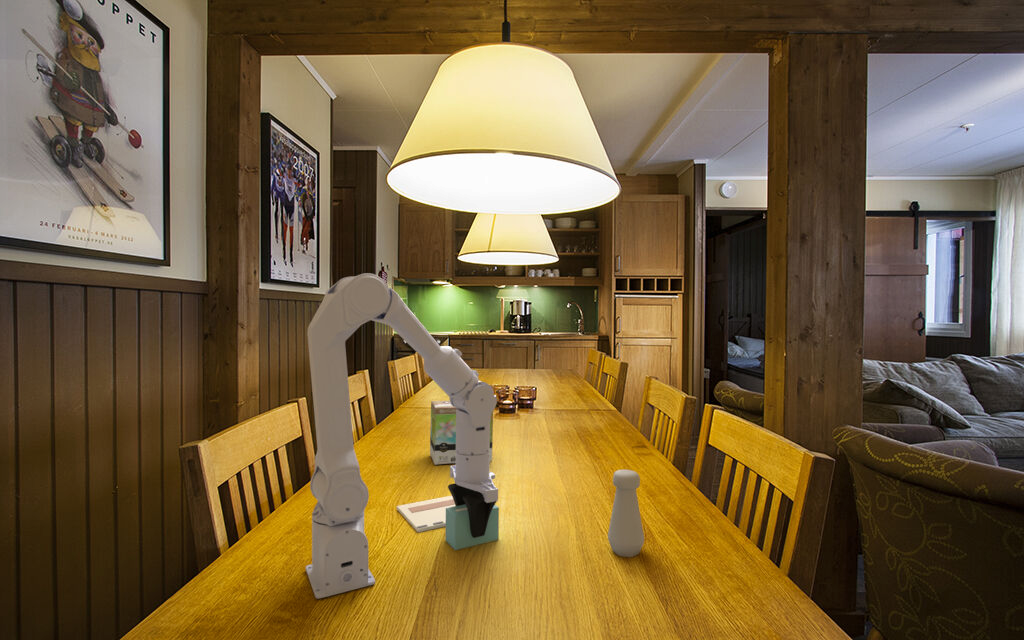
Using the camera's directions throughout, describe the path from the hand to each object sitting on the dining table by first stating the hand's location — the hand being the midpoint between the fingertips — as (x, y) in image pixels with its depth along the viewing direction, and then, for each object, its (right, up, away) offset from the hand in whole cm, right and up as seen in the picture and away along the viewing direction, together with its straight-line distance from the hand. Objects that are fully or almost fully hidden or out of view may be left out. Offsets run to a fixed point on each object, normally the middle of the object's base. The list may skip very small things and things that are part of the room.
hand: (472, 530), depth 87 cm
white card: (-7, -1, +12) cm, 13 cm away
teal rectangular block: (0, -2, 0) cm, 2 cm away
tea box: (-7, -1, +47) cm, 48 cm away
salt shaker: (+25, -2, -4) cm, 26 cm away
